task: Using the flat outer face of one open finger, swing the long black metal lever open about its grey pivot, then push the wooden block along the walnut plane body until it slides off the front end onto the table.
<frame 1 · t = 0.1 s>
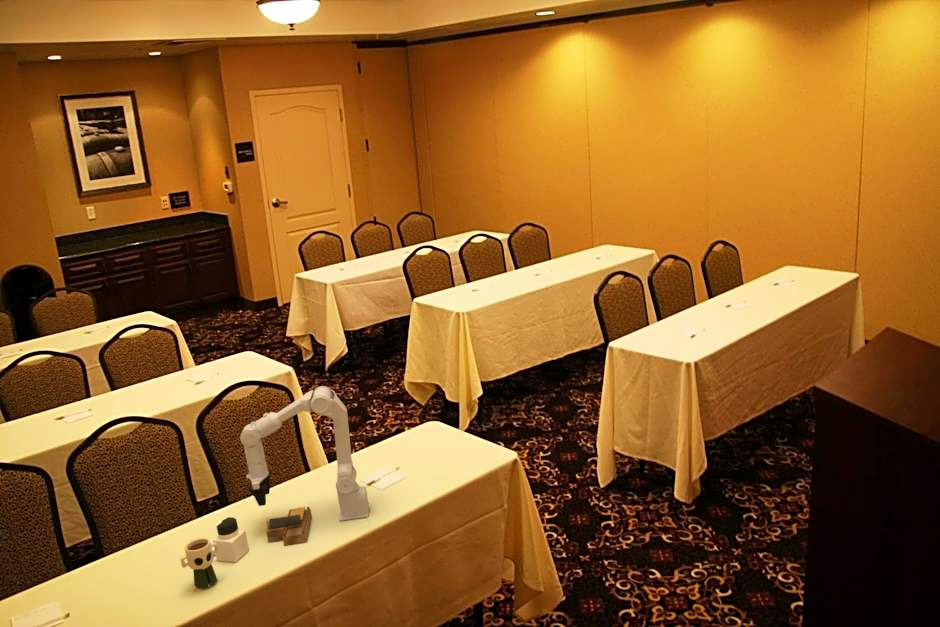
hand: (264, 499, 252), 10 cm above the table, fingers open, 7 cm apart
lever: (283, 521, 245), point 6 cm above the table, hinge at 0.0°
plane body: (298, 531, 249), on the table
character mug: (206, 584, 226), on the table
wooden block: (297, 519, 251), point 3 cm above the table, touching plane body
medicine bottle: (233, 556, 240), on the table
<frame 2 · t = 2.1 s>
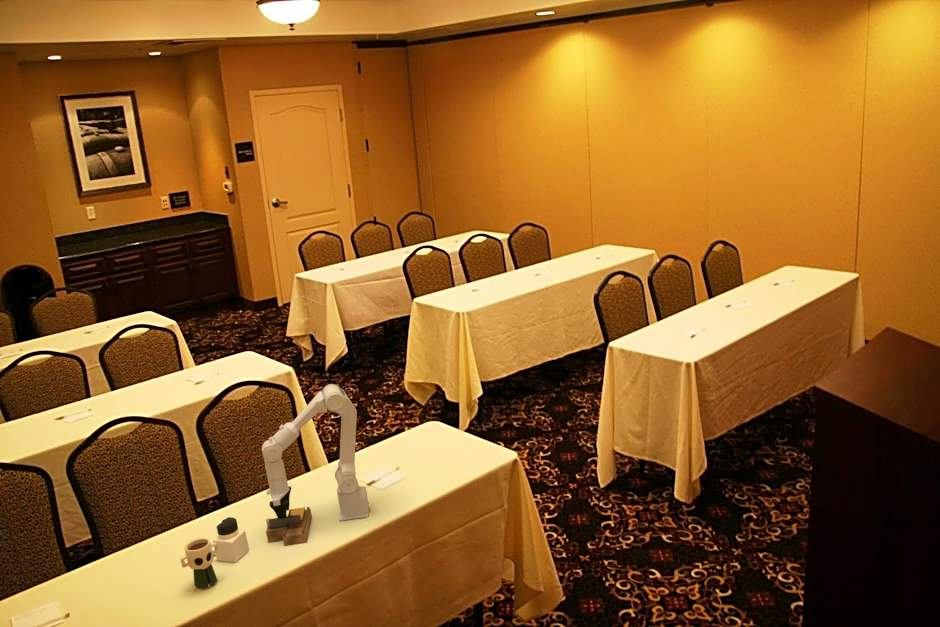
hand: (284, 515, 249), 5 cm above the table, fingers open, 6 cm apart
lever: (283, 521, 245), point 6 cm above the table, hinge at 0.3°, touching gripper
everything else where it was.
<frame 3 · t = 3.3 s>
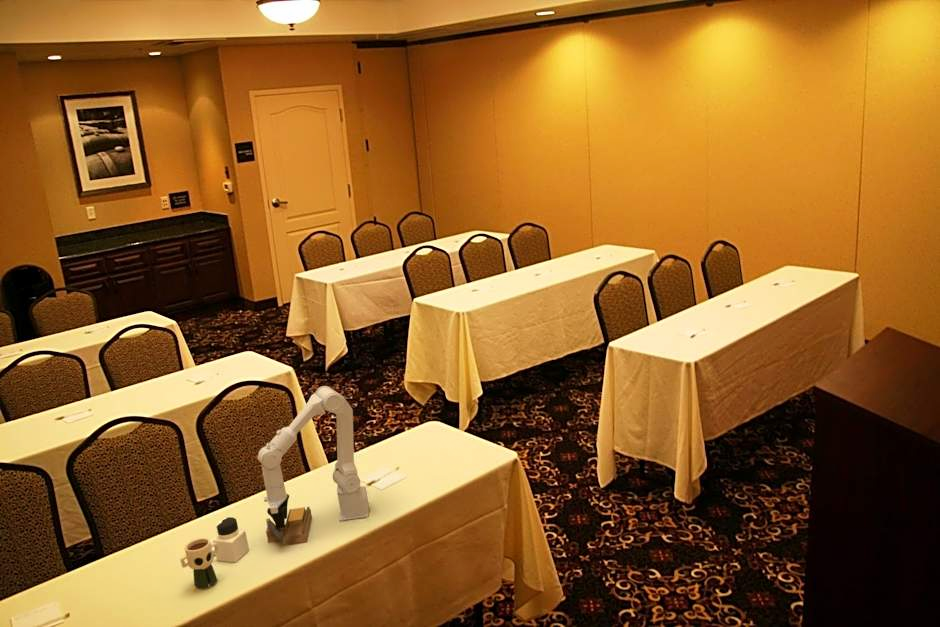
hand: (282, 523, 245), 5 cm above the table, fingers open, 5 cm apart
lever: (274, 529, 241), point 6 cm above the table, hinge at 59.7°, touching gripper
everything else where it was.
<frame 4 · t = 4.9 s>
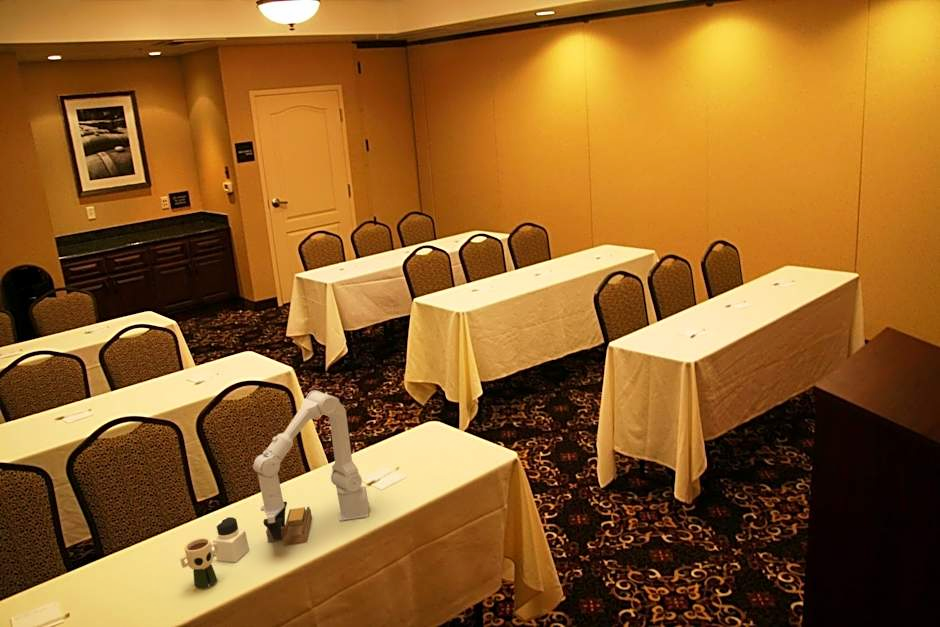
hand: (279, 532, 239), 5 cm above the table, fingers open, 7 cm apart
lever: (269, 530, 240), point 6 cm above the table, hinge at 77.1°
everything else where it was.
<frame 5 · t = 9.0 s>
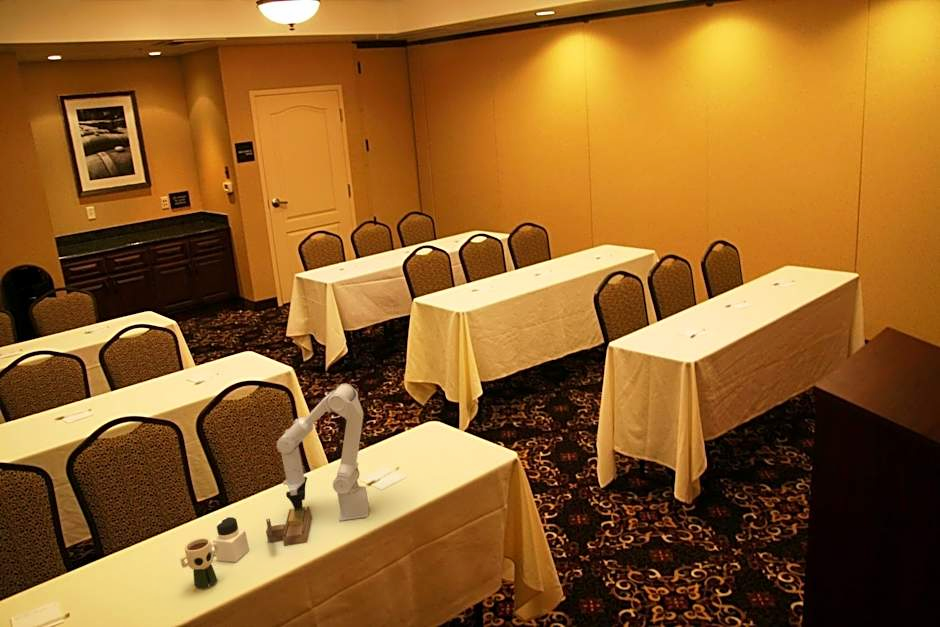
hand: (300, 505, 259), 4 cm above the table, fingers open, 7 cm apart
wooden block: (297, 519, 251), point 3 cm above the table, touching gripper, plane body
everything else where it was.
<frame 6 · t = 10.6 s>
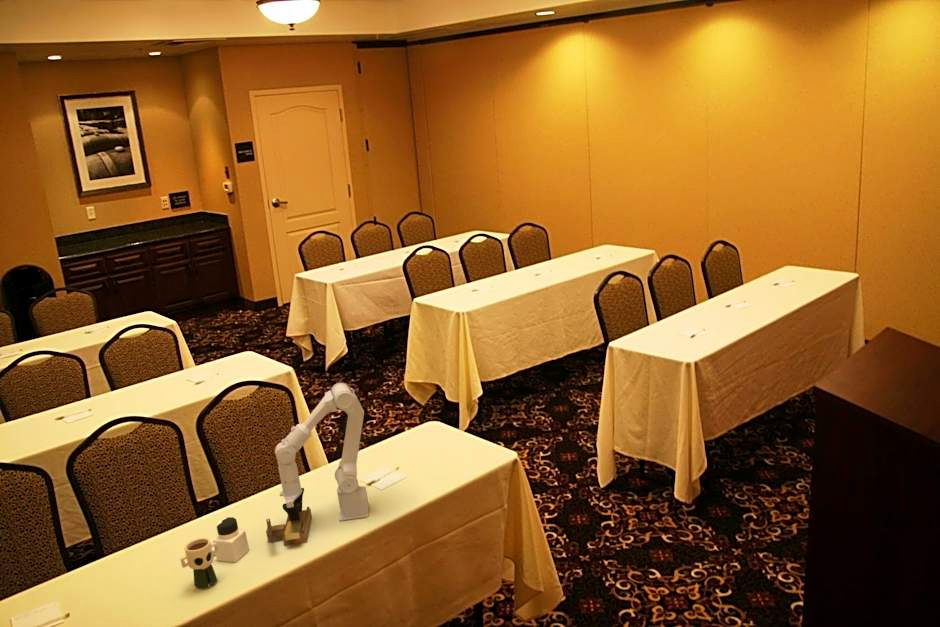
hand: (297, 517, 251), 4 cm above the table, fingers open, 7 cm apart
wooden block: (294, 532, 243), point 3 cm above the table, touching gripper, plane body
everything else where it was.
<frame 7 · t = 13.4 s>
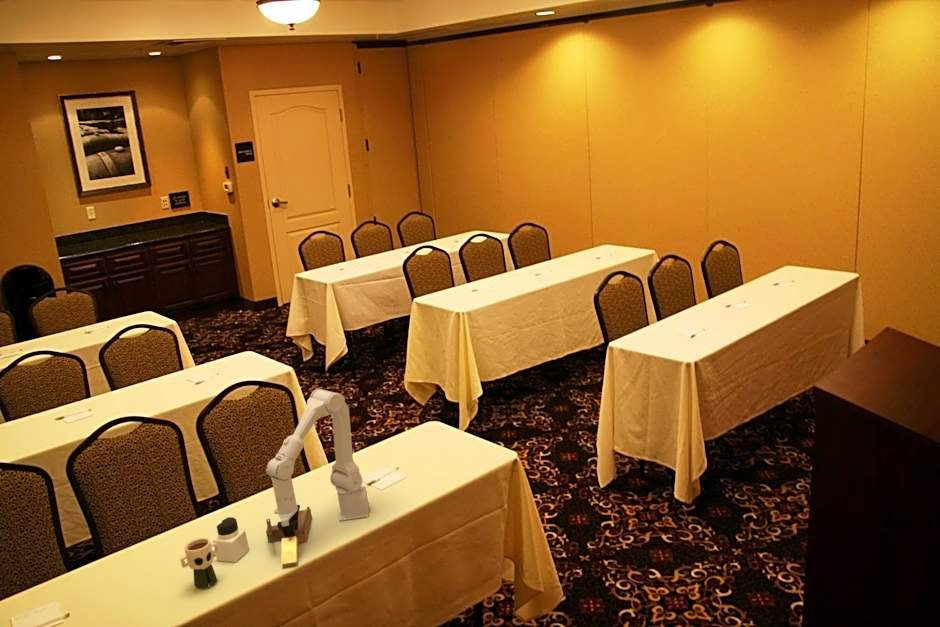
hand: (292, 535, 239), 4 cm above the table, fingers open, 7 cm apart
wooden block: (290, 552, 233), point 2 cm above the table, tilted 37°, touching gripper
everything else where it was.
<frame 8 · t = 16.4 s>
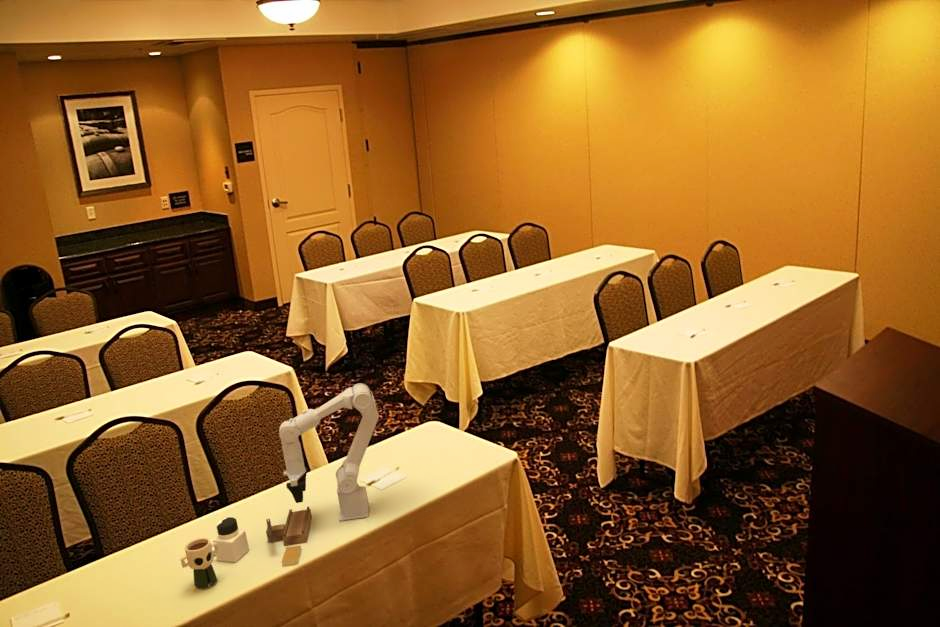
hand: (300, 496, 251), 10 cm above the table, fingers open, 7 cm apart
wooden block: (292, 559, 234), on the table
everything else where it was.
at the end: lever at +77° (first picture: +0°); wooden block inside the target area (2.1 cm from its centre), on the table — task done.
